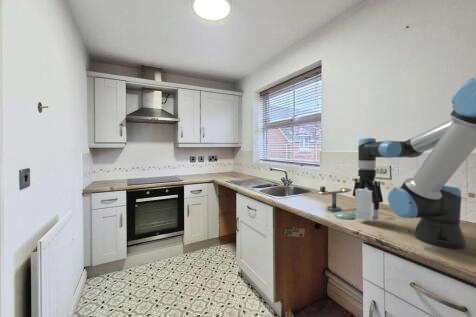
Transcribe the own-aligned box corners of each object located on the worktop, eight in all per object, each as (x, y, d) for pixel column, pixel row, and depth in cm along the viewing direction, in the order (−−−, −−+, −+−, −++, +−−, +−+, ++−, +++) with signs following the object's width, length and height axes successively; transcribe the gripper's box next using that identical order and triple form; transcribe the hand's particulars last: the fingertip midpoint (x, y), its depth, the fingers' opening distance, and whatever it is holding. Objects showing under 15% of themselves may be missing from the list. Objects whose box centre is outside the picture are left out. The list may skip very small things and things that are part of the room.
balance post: (344, 210, 129) (344, 194, 129) (332, 211, 127) (332, 195, 127) (335, 207, 137) (335, 191, 136) (324, 207, 135) (324, 192, 135)
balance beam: (353, 192, 131) (353, 184, 130) (321, 196, 126) (320, 188, 126) (346, 190, 137) (346, 183, 137) (315, 194, 133) (315, 186, 133)
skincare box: (378, 219, 105) (378, 189, 105) (372, 221, 102) (372, 190, 101) (360, 215, 112) (361, 187, 112) (354, 217, 109) (355, 188, 108)
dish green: (358, 218, 114) (358, 216, 114) (341, 220, 112) (341, 217, 112) (345, 213, 124) (345, 211, 123) (330, 214, 122) (330, 212, 122)
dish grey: (376, 217, 116) (376, 215, 116) (360, 218, 114) (360, 216, 114) (362, 212, 126) (362, 210, 126) (347, 213, 124) (347, 210, 124)
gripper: (393, 170, 96) (392, 219, 97) (356, 167, 118) (356, 207, 118) (379, 170, 95) (378, 220, 95) (345, 167, 117) (344, 208, 117)
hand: (366, 213), depth 107 cm, fingers closed on skincare box, 9 cm apart
